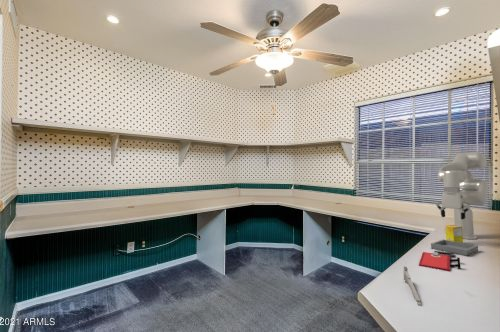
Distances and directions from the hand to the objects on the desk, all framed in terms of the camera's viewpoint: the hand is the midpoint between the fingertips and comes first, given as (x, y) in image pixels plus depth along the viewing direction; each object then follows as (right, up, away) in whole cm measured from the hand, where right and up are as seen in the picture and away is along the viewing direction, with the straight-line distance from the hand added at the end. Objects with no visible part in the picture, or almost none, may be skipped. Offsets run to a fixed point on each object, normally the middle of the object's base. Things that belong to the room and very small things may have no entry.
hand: (452, 218), depth 148 cm
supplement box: (+1, -16, 0) cm, 16 cm away
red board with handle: (-31, -16, -29) cm, 45 cm away
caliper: (-66, -15, -60) cm, 90 cm away
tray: (-10, -15, -12) cm, 22 cm away
